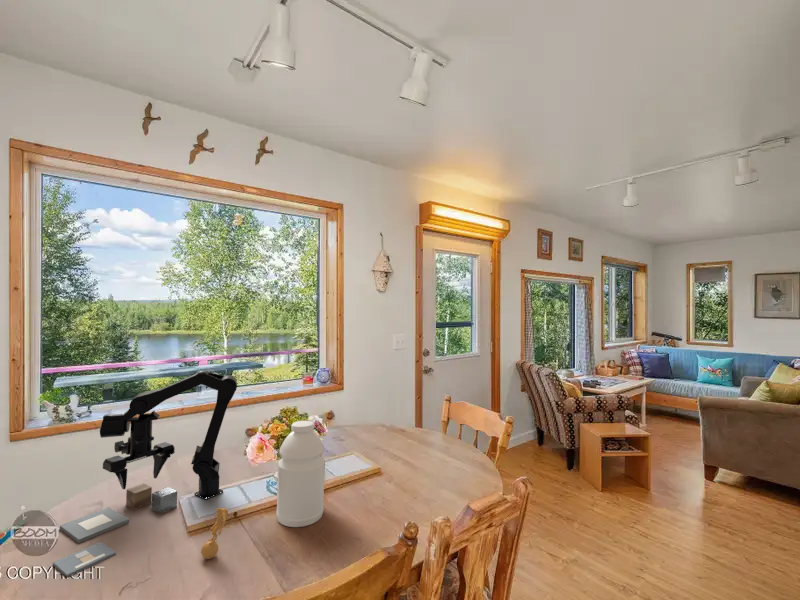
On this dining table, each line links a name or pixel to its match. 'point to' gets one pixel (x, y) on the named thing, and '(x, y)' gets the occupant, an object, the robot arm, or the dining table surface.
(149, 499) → the walnut cube
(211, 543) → the figurine
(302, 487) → the bottle
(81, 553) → the board
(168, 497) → the metal cube
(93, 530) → the base plate
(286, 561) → the dining table surface
